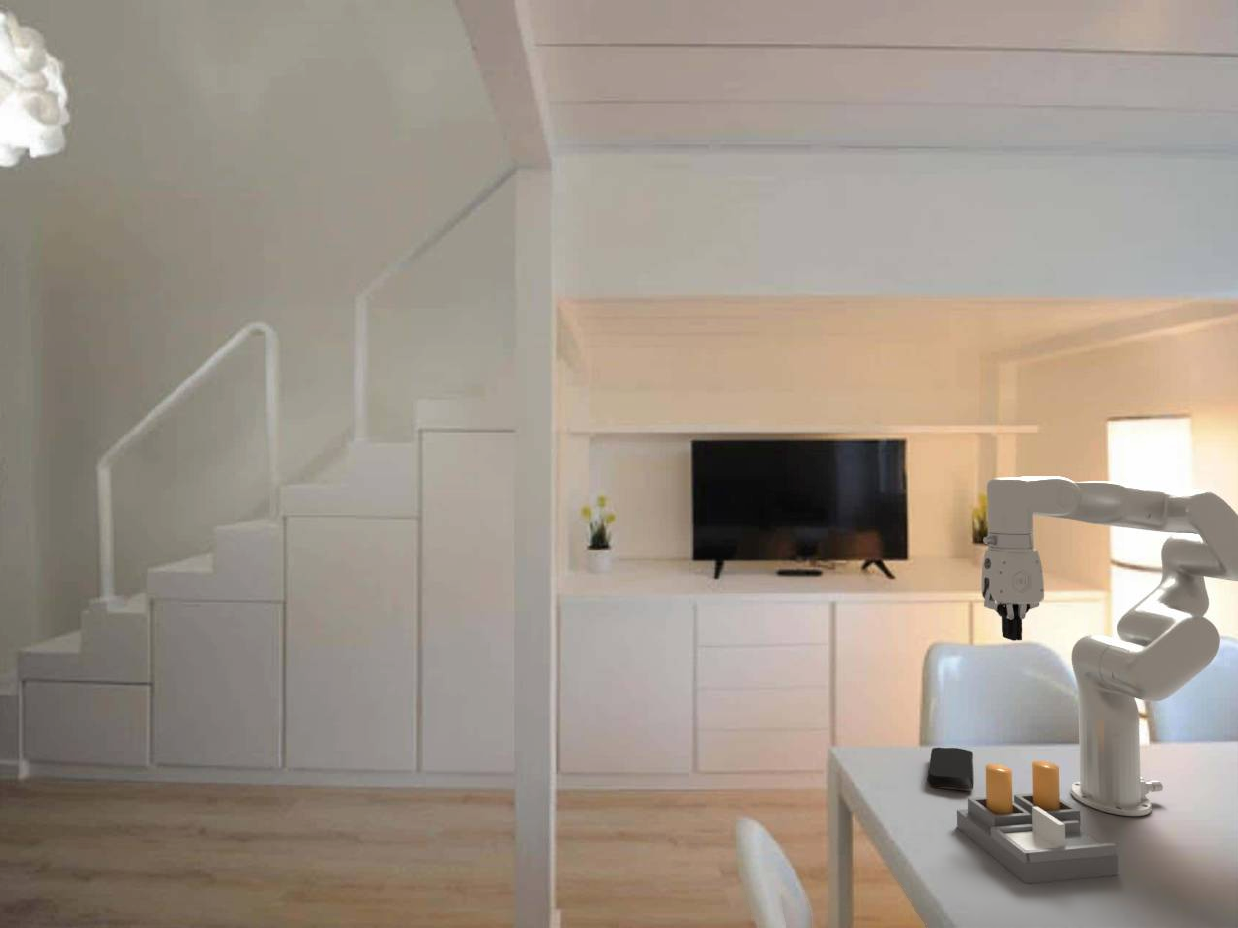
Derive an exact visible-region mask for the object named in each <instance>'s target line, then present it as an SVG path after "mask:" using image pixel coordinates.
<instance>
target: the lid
mask: <svg viewBox="0 0 1238 928" xmlns="http://www.w3.org/2000/svg"><path fill="white" fill-rule="evenodd" d="M1004 834H1005V835H1007V836H1008V837H1009V838H1011V839H1012V840H1013V841H1015V842H1016V843H1017V844H1019V845H1020V846H1021V847H1023V848H1024V849H1025V850H1035V849H1046V848H1058V847H1065V824H1064V823H1062V822H1060V821H1059V820H1057V819H1056V818H1054V817H1053V816H1051V815H1050V814H1048V813H1047V812H1045V811H1044V810H1042V809H1041V808H1039V807H1032V831H1028V832H1016V833H1004Z"/></svg>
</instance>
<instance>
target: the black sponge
mask: <svg viewBox="0 0 1238 928" xmlns="http://www.w3.org/2000/svg"><path fill="white" fill-rule="evenodd" d="M973 760H974V755H973V751H971V750H966V749H963V748H957V747H956V748H955V747H949V748H948V747H946V748H945V747H933V748H932V749H931V753H930V760H929V767H928V770H927V778H926V781H927V783H928V784H929V786H930V787H933V788H939V789H940V788H941V789H951V790H958V791H973V790H974V781H975V780H974V778H975V777H974V761H973Z"/></svg>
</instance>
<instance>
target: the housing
mask: <svg viewBox="0 0 1238 928" xmlns="http://www.w3.org/2000/svg"><path fill="white" fill-rule="evenodd" d="M1031 768H1032V769H1031V771H1032V772H1031V773H1032V774H1031V778H1032V779H1031V780H1032V782H1031V783H1032V792H1031V793H1019V794H1013V814H1003V815H995V814H993V813H992V812H991V811H989V810H988V809H987V808H986V796H976V797H967V808H966V809H957V810H956V827H957V828H958V829H959V830H960V831H962V832H963V834H965V835H966V836H968V838H969V839H972V841H974V842H975V843H976V844H978V846H980V847H981V848H982V849H984V850H985V851H986V853H988V854H989V855H990V856H992V857H993V858H994V859H995V860H997V861H998V862H999V863H1000V864H1002V865H1003V866H1004V867H1005V868H1007V869H1008V870H1009V871H1010V872H1011V873H1013V874H1014V876H1016V877H1018V879H1020V880H1021V881H1022V882H1023V883H1025V884H1033V883H1035V884H1036V883H1045V882H1047V883H1048V882H1055V881H1057V882H1058V881H1063V880H1064V881H1067V880H1068V881H1069V880H1076V879H1077V880H1078V879H1086V878H1087V879H1088V878H1099V877H1100V878H1101V877H1108V876H1119V855H1118V854H1117V845H1116V844H1115V843H1114V842H1106V843H1099V842H1098V841H1097V840H1095V839H1093V838H1092V837H1090V836H1088V835H1087V834H1085V833H1084V832H1082V831H1081V810H1080V809H1078V808H1076V807H1075V806H1073V805H1071V804H1070V803H1068V802H1067V801H1065V800H1064V799H1061V798H1060V768H1059V766H1058V765H1057V764H1055V763H1053V762H1051V761H1046V760H1033V761H1032V762H1031ZM1032 807H1039V808H1041V809H1042V810H1044V811H1045V812H1047V813H1048V814H1050V815H1051V816H1053V817H1054V818H1056V819H1057V820H1059V821H1060V822H1062V823H1064V824H1065V847H1058V848H1046V849H1035V850H1025V849H1024V848H1023V847H1021V846H1020V845H1019V844H1017V843H1016V842H1015V841H1013V840H1012V839H1011V838H1009V837H1008V836H1007V835H1005V834H1004V833H1016V832H1028V831H1032Z"/></svg>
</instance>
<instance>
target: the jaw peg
mask: <svg viewBox="0 0 1238 928" xmlns="http://www.w3.org/2000/svg"><path fill="white" fill-rule="evenodd" d="M985 797H986V808H987V809H988V810H989V811H991V812H992V813H993V814H995V815H1003V814H1013V802H1014V800H1013V770H1012V769H1011V768H1009V767H1008V766H1006V765H1003V764H999V763H998V764H997V763H989V764H986V765H985Z"/></svg>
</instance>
